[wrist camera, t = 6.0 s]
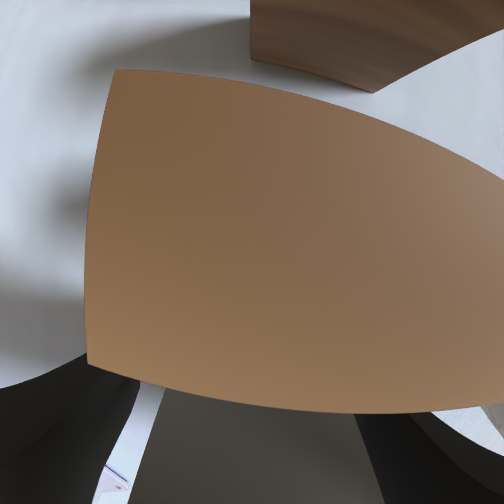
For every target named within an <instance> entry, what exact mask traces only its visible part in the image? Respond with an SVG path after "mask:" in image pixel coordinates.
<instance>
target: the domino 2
mask: <svg viewBox="0 0 504 504" xmlns="http://www.w3.org/2000/svg"><path fill="white" fill-rule="evenodd" d="M84 311H85V335H86V349H87V361H88V364H90V365H93V366H96V367H99V368H101V369H104V370H107V371H110V372H114V373H117V374H120V375H123V376H126V377H130V378H133V379H136V380H140V381H143V382H147V383H151V384H154V385H158V386H162V387H166V388H170V389H174V390H178V391H182V392H187V393H191V394H196V395H201V396H206V397H211V398H216V399H221V400H227V401H232V402H238V403H245V404H251V405H258V406H265V407H273V408H282V409H291V410H302V411H314V412H330V413H355V414H393V413H417V412H432V411H444V410H454V409H462V408H470V407H477V406H484V405H490V404H496V403H501V402H504V180H502V179H501V178H499V177H498V176H496V175H494V174H492V173H491V172H489V171H487V170H486V169H484V168H482V167H480V166H479V165H477V164H475V163H473V162H471V161H469V160H467V159H466V158H464V157H462V156H460V155H458V154H456V153H454V152H452V151H450V150H448V149H446V148H444V147H442V146H440V145H438V144H435V143H433V142H431V141H429V140H427V139H425V138H422V137H420V136H418V135H415V134H413V133H411V132H408V131H406V130H404V129H401V128H399V127H396V126H394V125H391V124H389V123H386V122H384V121H381V120H378V119H375V118H373V117H370V116H367V115H364V114H361V113H359V112H356V111H353V110H350V109H347V108H343V107H340V106H337V105H334V104H331V103H327V102H324V101H320V100H317V99H313V98H310V97H306V96H302V95H298V94H294V93H290V92H286V91H282V90H278V89H273V88H269V87H264V86H259V85H254V84H249V83H244V82H238V81H233V80H227V79H220V78H214V77H207V76H199V75H191V74H181V73H171V72H158V71H142V70H115V73H114V76H113V80H112V84H111V87H110V91H109V95H108V99H107V103H106V107H105V111H104V115H103V120H102V124H101V129H100V134H99V139H98V144H97V150H96V156H95V162H94V168H93V174H92V182H91V189H90V197H89V206H88V217H87V229H86V244H85V267H84Z"/></svg>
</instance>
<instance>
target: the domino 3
mask: <svg viewBox="0 0 504 504" xmlns="http://www.w3.org/2000/svg"><path fill="white" fill-rule="evenodd" d="M128 504H385V502H384V499H383V496H382V493H381V490H380V487H379V484H378V481H377V478H376V476H375V473H374V470H373V467H372V464H371V461H370V458H369V455H368V453H367V450H366V447H365V444H364V441H363V439H362V436H361V433H360V430H359V428H358V425H357V422H356V419H355V417H354V414H353V413H330V412H314V411H302V410H291V409H282V408H273V407H265V406H258V405H251V404H245V403H238V402H232V401H227V400H221V399H216V398H211V397H206V396H201V395H196V394H191V393H187V392H182V391H178V390H174V389H170V388H166V390H165V392H164V395H163V398H162V401H161V404H160V407H159V409H158V412H157V415H156V418H155V421H154V424H153V427H152V430H151V433H150V436H149V439H148V442H147V445H146V448H145V451H144V454H143V457H142V460H141V463H140V466H139V469H138V472H137V475H136V478H135V481H134V484H133V488H132V491H131V494H130V497H129V500H128Z"/></svg>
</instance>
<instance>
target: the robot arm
mask: <svg viewBox="0 0 504 504" xmlns="http://www.w3.org/2000/svg"><path fill="white" fill-rule="evenodd" d="M139 388H140V380H136V379H133V378H130V377H126V376H123V375H120V374H117V373H114V372H110V371H107V370H104V369H101V368H99V367H96V366H93V365H90V364H88V361H87V353H85V354H83V355H81V356H80V357H78V358H76V359H74V360H72V361H70V362H68V363H66V364H64V365H62V366H60V367H58V368H56V369H54V370H52V371H50V372H48V373H45V374H43V375H41V376H38V377H36V378H33V379H30V380H27V381H25V382H22V383H19V384H16V385H13V386H9V387H5V388H1V389H0V504H98V501H99V499H100V496H101V493H102V492H111V491H122V490H128V489H129V487H130V485H129V483H127V482H126V481H125V480H123V479H122V478H120V477H119V476H118V475H116V474H115V473H114V472H112V471H111V470H110V469H108V468H107V467H106V466H105V464H106V462H107V460H108V458H109V456H110V454H111V452H112V450H113V448H114V446H115V444H116V442H117V440H118V438H119V436H120V434H121V432H122V430H123V428H124V426H125V424H126V422H127V420H128V418H129V416H130V414H131V411H132V408H133V406H134V403H135V400H136V397H137V394H138V391H139ZM353 414H354V417H355V419H356V422H357V425H358V428H359V430H360V433H361V436H362V439H363V441H364V444H365V447H366V450H367V453H368V455H369V458H370V461H371V464H372V467H373V470H374V473H375V476H376V478H377V481H378V484H379V487H380V490H381V493H382V496H383V499H384V502H385V504H504V456H502V455H499V454H497V453H495V452H493V451H490V450H488V449H486V448H484V447H482V446H480V445H478V444H477V443H475V442H473V441H471V440H470V439H468V438H466V437H465V436H463V435H461V434H460V433H458V432H457V431H455V430H454V429H453V428H451V427H450V426H448V425H447V424H446V423H444V422H443V421H442V420H440V419H439V418H438V417H436V416H435V415H434V414H433V413H431V412H417V413H393V414H355V413H353Z"/></svg>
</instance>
